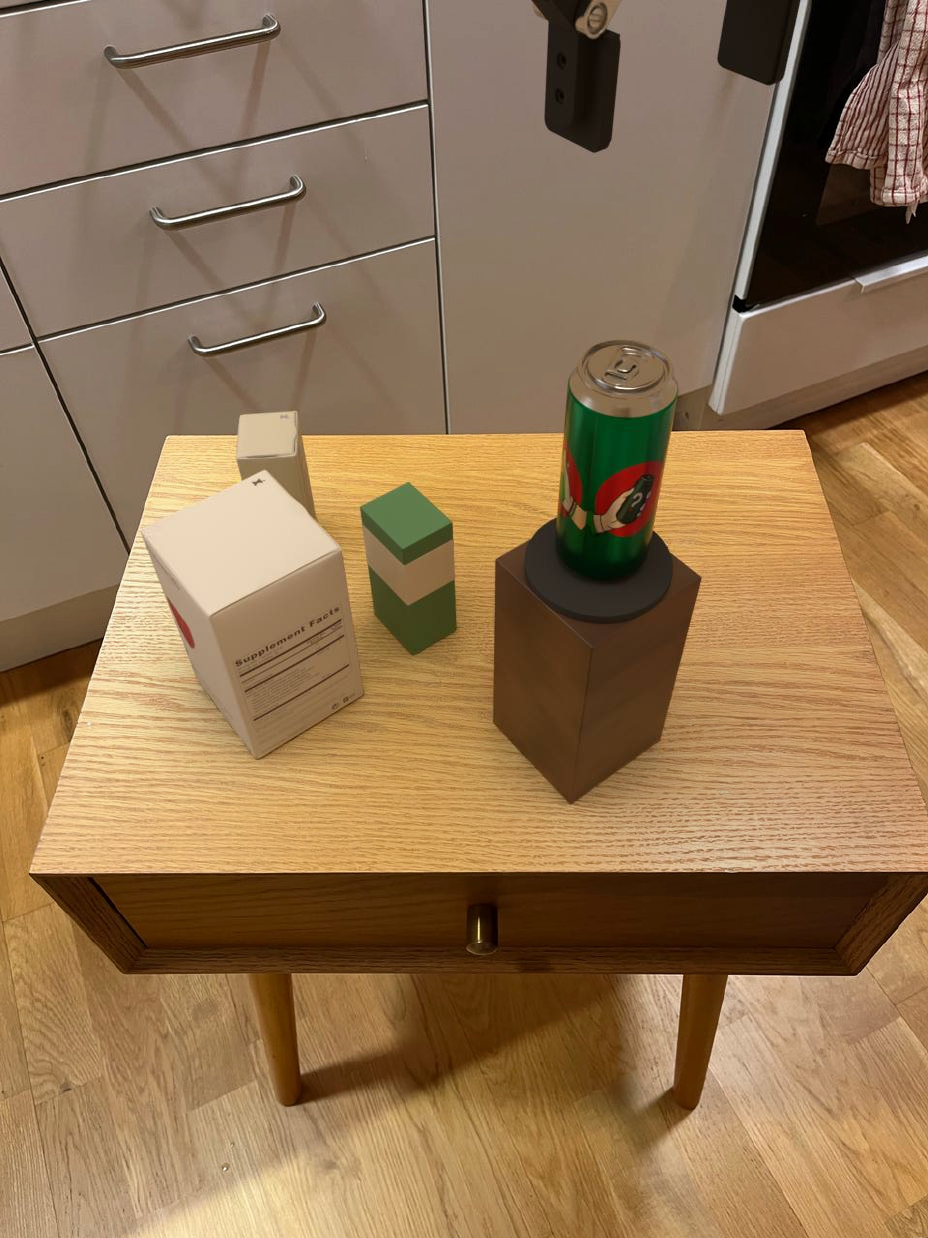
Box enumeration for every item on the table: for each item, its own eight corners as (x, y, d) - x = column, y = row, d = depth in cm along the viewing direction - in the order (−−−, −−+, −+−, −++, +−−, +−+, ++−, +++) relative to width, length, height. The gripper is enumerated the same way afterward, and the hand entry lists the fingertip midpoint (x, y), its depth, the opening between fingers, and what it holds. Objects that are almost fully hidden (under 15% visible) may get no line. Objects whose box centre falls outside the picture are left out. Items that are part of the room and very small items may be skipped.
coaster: (702, 577, 52) (704, 569, 51) (592, 648, 49) (593, 640, 48) (602, 497, 56) (603, 490, 56) (494, 558, 53) (494, 551, 53)
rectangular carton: (191, 677, 68) (133, 525, 57) (300, 618, 72) (266, 463, 60) (255, 764, 63) (205, 617, 52) (368, 696, 67) (345, 544, 55)
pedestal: (660, 740, 64) (702, 577, 52) (570, 805, 61) (592, 648, 49) (580, 665, 68) (602, 497, 56) (492, 722, 65) (494, 558, 53)
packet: (409, 480, 65) (358, 506, 63) (453, 521, 62) (402, 549, 61) (417, 589, 73) (373, 614, 72) (457, 630, 71) (412, 656, 69)
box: (265, 520, 78) (239, 410, 70) (318, 517, 79) (298, 406, 70) (262, 567, 75) (234, 457, 67) (317, 563, 75) (296, 453, 67)
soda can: (662, 541, 53) (700, 354, 44) (621, 600, 50) (652, 413, 41) (581, 508, 55) (601, 322, 46) (537, 563, 52) (549, 377, 43)
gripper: (849, -561, 31) (742, 29, 44) (414, -560, 24) (439, 134, 38) (1065, -573, 27) (878, 78, 40) (617, -575, 21) (567, 205, 34)
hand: (666, 105), depth 39 cm, fingers open, 9 cm apart
